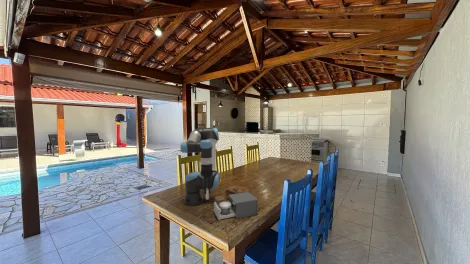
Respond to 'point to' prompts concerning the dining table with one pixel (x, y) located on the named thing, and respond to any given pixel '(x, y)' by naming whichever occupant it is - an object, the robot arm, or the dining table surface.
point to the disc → (225, 205)
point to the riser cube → (219, 200)
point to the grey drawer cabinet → (244, 204)
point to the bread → (234, 190)
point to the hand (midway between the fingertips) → (207, 198)
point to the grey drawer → (232, 213)
